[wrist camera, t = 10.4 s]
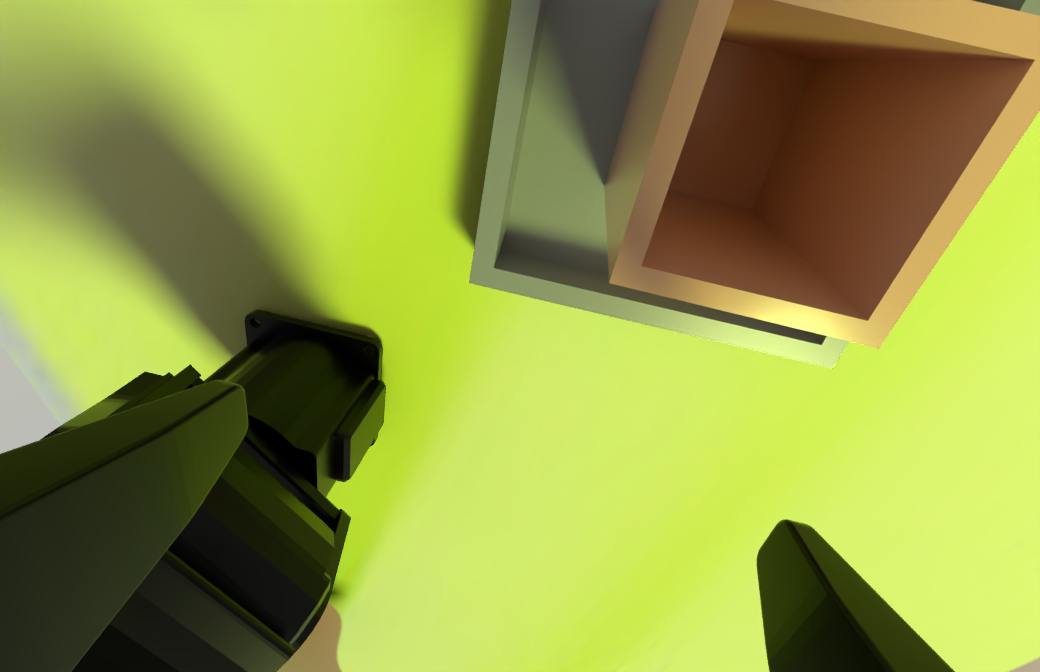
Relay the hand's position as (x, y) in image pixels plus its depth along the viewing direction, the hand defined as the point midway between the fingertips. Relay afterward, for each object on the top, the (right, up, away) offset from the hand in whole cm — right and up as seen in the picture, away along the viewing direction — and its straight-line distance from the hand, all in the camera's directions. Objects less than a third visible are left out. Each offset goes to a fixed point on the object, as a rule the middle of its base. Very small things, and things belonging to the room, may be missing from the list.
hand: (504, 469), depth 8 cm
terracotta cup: (+7, +9, +8) cm, 14 cm away
